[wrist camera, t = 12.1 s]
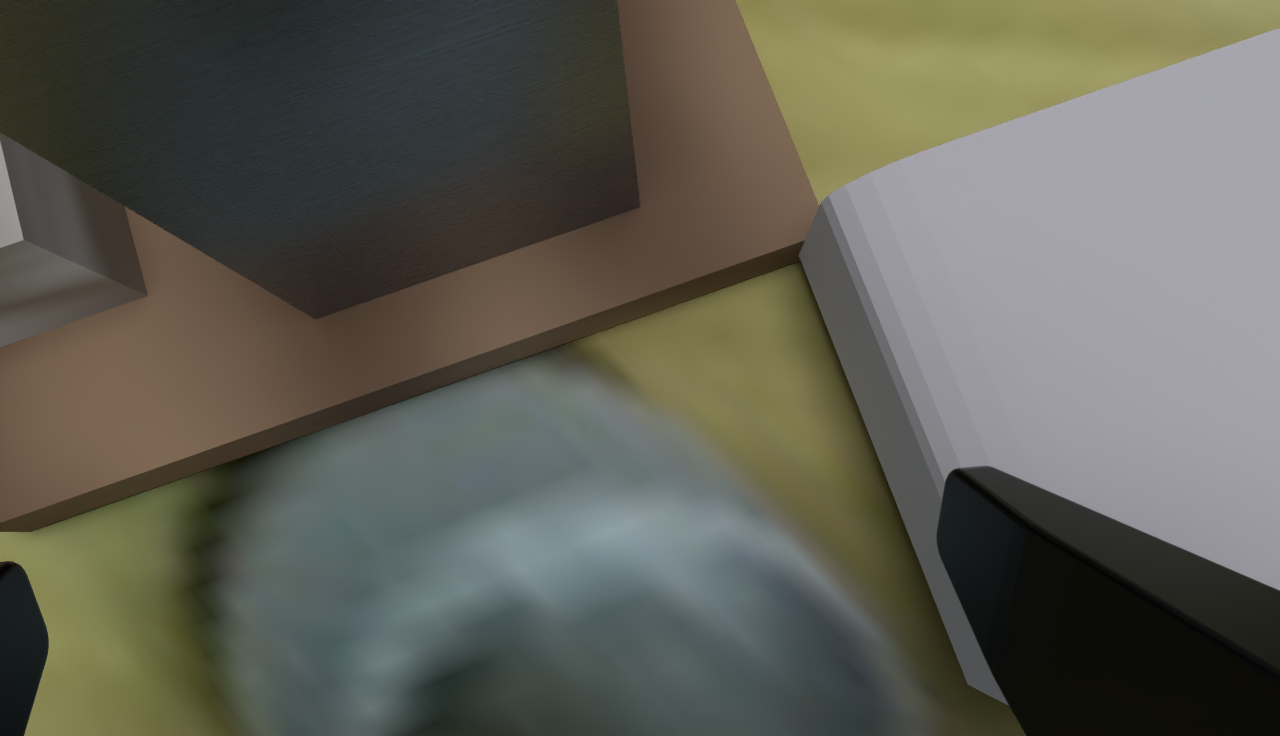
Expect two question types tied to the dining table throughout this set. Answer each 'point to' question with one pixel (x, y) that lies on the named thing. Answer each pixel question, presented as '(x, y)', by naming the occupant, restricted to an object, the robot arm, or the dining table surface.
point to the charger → (1078, 313)
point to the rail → (378, 329)
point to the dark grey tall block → (331, 128)
